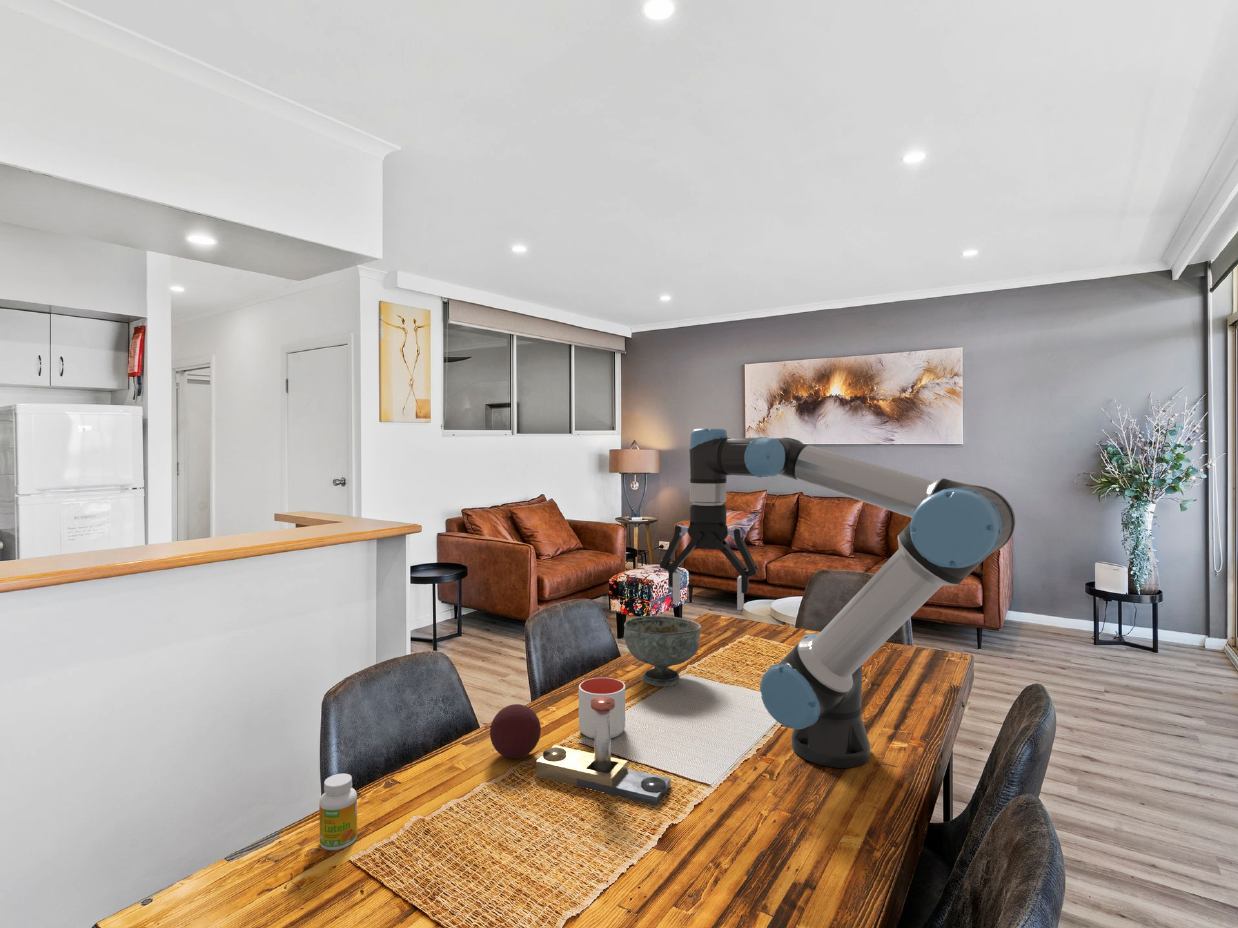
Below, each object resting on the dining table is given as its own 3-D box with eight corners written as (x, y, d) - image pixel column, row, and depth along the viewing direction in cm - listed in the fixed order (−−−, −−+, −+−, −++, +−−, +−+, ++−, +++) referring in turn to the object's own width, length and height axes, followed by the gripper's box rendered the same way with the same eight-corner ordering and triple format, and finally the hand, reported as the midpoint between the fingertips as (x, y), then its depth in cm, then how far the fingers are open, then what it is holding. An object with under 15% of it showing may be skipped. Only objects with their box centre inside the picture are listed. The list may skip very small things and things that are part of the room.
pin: (618, 778, 122) (618, 698, 121) (608, 789, 118) (608, 707, 117) (596, 773, 124) (597, 694, 123) (586, 784, 120) (586, 703, 119)
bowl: (711, 674, 176) (711, 619, 176) (678, 698, 160) (678, 637, 160) (647, 661, 187) (648, 609, 186) (610, 682, 171) (610, 625, 170)
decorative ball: (521, 739, 138) (521, 692, 137) (551, 755, 131) (551, 706, 130) (480, 755, 131) (479, 705, 130) (509, 773, 124) (509, 721, 123)
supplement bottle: (319, 854, 99) (318, 791, 99) (320, 835, 104) (319, 774, 104) (357, 846, 101) (357, 784, 101) (356, 827, 106) (356, 768, 106)
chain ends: (671, 786, 119) (671, 768, 119) (658, 805, 113) (658, 786, 113) (553, 759, 129) (553, 742, 129) (535, 776, 123) (535, 758, 122)
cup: (620, 743, 136) (620, 696, 136) (573, 739, 138) (573, 692, 138) (629, 723, 146) (629, 679, 145) (585, 719, 148) (585, 675, 147)
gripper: (772, 503, 134) (771, 606, 135) (656, 500, 144) (656, 596, 144) (765, 507, 127) (765, 615, 128) (645, 502, 137) (645, 604, 138)
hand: (707, 605), depth 136 cm, fingers open, 13 cm apart
